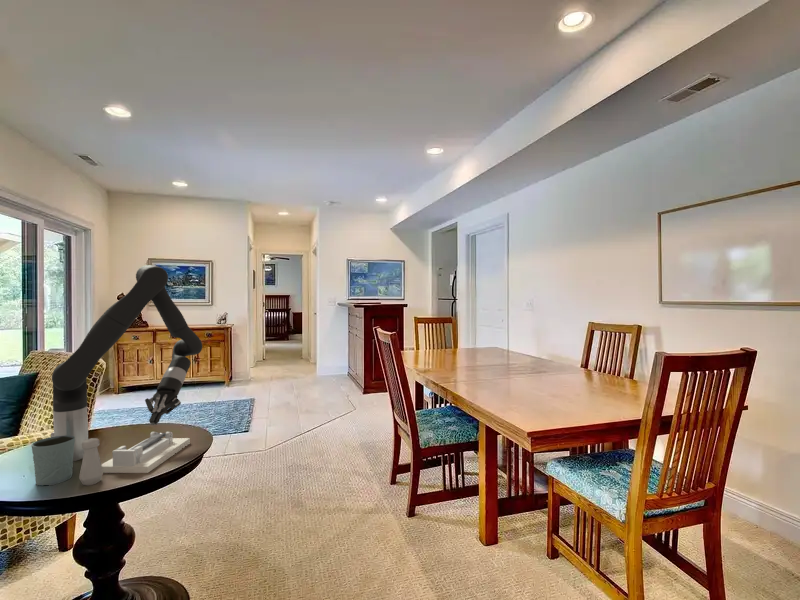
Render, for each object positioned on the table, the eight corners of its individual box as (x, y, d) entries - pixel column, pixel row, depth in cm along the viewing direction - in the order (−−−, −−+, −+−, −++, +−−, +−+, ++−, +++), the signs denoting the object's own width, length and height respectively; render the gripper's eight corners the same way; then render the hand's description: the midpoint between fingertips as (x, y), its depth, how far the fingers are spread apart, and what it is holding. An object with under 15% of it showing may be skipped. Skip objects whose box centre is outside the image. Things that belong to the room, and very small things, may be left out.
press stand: (97, 472, 131) (97, 451, 131) (147, 443, 156) (147, 425, 156) (147, 472, 131) (147, 451, 131) (189, 443, 156) (189, 425, 156)
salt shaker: (90, 487, 121) (89, 443, 121) (74, 486, 122) (73, 442, 122) (108, 478, 127) (107, 436, 127) (92, 477, 128) (91, 435, 128)
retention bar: (123, 456, 133) (123, 453, 133) (158, 435, 152) (158, 432, 152) (132, 456, 133) (132, 453, 133) (166, 435, 152) (166, 432, 152)
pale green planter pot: (26, 489, 120) (25, 448, 120) (40, 475, 130) (39, 437, 129) (69, 483, 124) (68, 443, 124) (80, 469, 134) (79, 432, 133)
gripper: (150, 376, 156) (129, 418, 144) (185, 376, 155) (166, 418, 143) (159, 386, 161) (139, 428, 149) (193, 386, 161) (175, 428, 149)
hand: (152, 423), depth 146 cm, fingers closed
